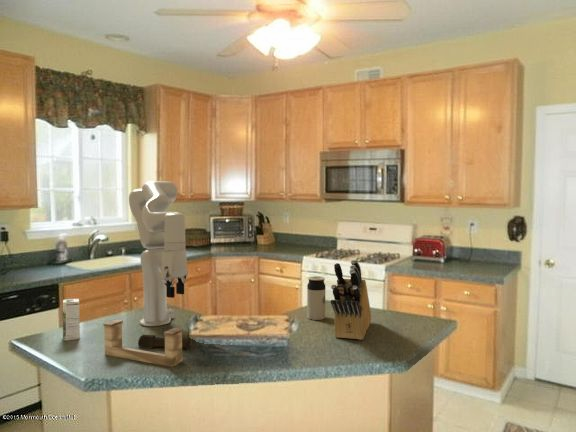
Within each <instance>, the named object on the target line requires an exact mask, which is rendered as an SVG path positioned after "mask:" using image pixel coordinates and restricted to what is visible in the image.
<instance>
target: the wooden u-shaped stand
mask: <svg viewBox="0 0 576 432" xmlns="http://www.w3.org/2000/svg"><path fill="white" fill-rule="evenodd" d="M123 321H124V320H122V319H113V320H110V321H107V322H104V323H103V327H104V330H103V331H104V355H105V356H109V357H115V358H119V359H121V358H122V359H127V360H133V361H138V362H142V363H148V364H154V365H160V366H165V367H170V366H171V368H173V366H174V367H176V366H177V365H178V363H179V364H180V362H181V363H183V348H182V338H183V331H184V329H183V328H178V327H173V328H170V329H168V330H166V331H164V332H163V335H164V338H165V347H164V353H161V352H160V353H158V352H154V351H149V350H148V351H147V350H141V349H135V348H128V347H123Z"/></svg>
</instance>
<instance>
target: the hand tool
mask: <svg viewBox="0 0 576 432" xmlns="http://www.w3.org/2000/svg"><path fill="white" fill-rule="evenodd" d="M191 341H192V339H191V338H190V337H184V338H183V337H182V349H186V350H187V349H188V350H189V349H190V348H191ZM137 344H138V345H137V346H138V347H141V348H145V349H154V348H165V337H160V336H156V335H155V334H142V335H141V336H140V337H139V339H138V342H137Z"/></svg>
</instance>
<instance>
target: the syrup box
mask: <svg viewBox="0 0 576 432" xmlns="http://www.w3.org/2000/svg"><path fill="white" fill-rule="evenodd" d="M80 315H81V314H80V298H66V299H63V300H62V341H63V342H66V341H73V340H79V339H80V338H81V337H80V336H81V335H80V334H81V330H80V328H81V326H80Z"/></svg>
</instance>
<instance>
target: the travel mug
mask: <svg viewBox="0 0 576 432" xmlns="http://www.w3.org/2000/svg"><path fill="white" fill-rule="evenodd" d="M307 279H308V282H307V286H306V289H307V290H306V293H307V294H306V295H307V300H306V301H307V303H306V304H307V305H306V306H307V307H306V308H307V309H306V316H307V319H309V320H311V319H312V320H311V321H322V320H325V319H326V283H325V279H326V278H325V277H324V276H319V275H314V276H308V277H307Z"/></svg>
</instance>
